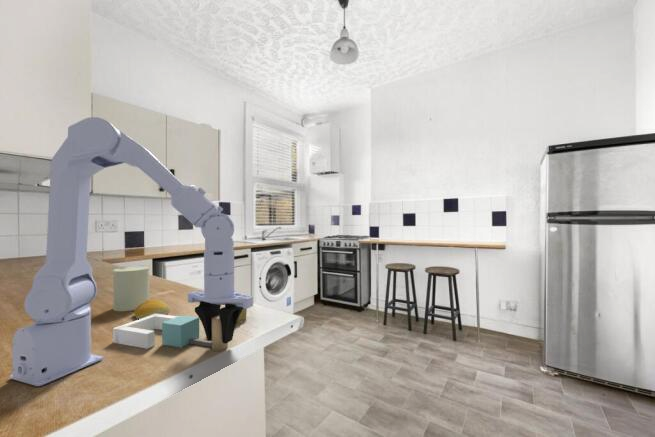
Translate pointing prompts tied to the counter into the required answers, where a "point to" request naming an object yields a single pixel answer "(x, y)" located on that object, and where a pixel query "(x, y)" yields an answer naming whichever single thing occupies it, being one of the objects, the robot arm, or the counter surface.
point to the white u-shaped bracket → (140, 331)
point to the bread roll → (151, 308)
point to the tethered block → (191, 332)
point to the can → (130, 287)
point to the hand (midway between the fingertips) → (219, 340)
